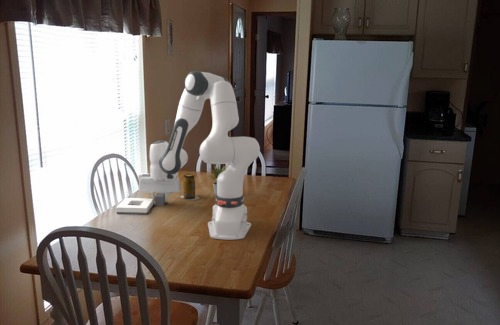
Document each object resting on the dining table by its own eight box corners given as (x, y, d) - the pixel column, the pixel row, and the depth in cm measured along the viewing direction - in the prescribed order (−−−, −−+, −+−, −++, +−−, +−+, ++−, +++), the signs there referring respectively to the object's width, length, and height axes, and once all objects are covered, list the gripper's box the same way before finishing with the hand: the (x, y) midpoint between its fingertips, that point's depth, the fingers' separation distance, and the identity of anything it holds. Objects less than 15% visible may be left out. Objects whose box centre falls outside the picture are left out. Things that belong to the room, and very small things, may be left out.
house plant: (229, 200, 226) (229, 169, 222) (203, 198, 229) (203, 167, 225) (235, 192, 240) (236, 163, 236) (211, 190, 242) (211, 161, 238)
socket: (146, 214, 205) (146, 208, 204) (116, 213, 205) (116, 207, 204) (153, 204, 218) (153, 198, 218) (125, 203, 218) (125, 197, 218)
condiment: (191, 194, 235) (191, 172, 232) (200, 198, 229) (200, 176, 226) (179, 196, 230) (179, 174, 228) (188, 201, 224) (188, 178, 221)
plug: (163, 205, 217) (163, 195, 215) (155, 205, 217) (154, 195, 216) (165, 202, 222) (165, 192, 220) (157, 202, 222) (157, 192, 220)
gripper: (136, 174, 213) (137, 202, 216) (178, 175, 212) (179, 203, 215) (139, 171, 219) (141, 198, 222) (181, 172, 218) (181, 199, 222)
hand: (160, 200), depth 219 cm, fingers closed on plug, 4 cm apart
